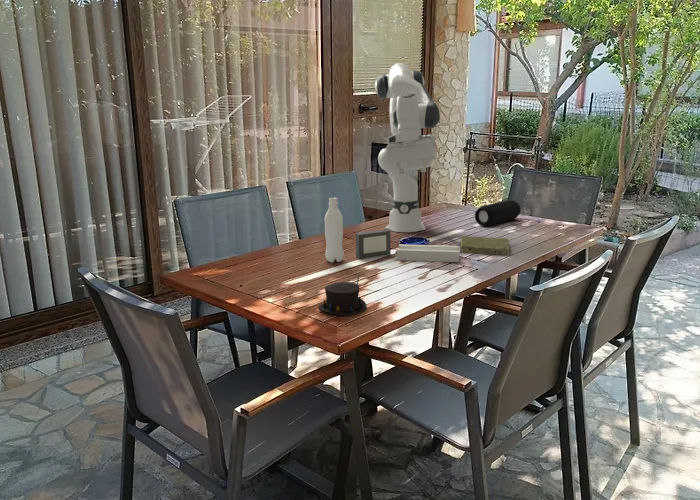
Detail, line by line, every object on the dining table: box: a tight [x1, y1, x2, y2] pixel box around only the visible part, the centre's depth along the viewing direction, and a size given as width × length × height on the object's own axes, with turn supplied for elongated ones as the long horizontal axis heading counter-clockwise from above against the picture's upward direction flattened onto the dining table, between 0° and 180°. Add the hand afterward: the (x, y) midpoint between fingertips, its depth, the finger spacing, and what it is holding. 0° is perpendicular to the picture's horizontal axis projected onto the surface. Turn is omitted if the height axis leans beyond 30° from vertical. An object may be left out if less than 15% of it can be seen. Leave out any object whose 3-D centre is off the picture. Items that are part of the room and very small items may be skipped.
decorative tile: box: [459, 235, 510, 256], centre depth 259 cm, size 19×20×4 cm
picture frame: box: [355, 228, 392, 260], centre depth 250 cm, size 3×14×10 cm, turn 114°
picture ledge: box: [396, 243, 460, 263], centre depth 247 cm, size 9×24×4 cm, turn 79°
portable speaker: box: [474, 199, 521, 227], centre depth 303 cm, size 26×10×10 cm, turn 131°
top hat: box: [318, 275, 367, 317], centre depth 194 cm, size 15×15×10 cm
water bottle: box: [323, 197, 345, 263], centre depth 242 cm, size 7×7×25 cm
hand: (412, 173), depth 240 cm, fingers open, 8 cm apart
